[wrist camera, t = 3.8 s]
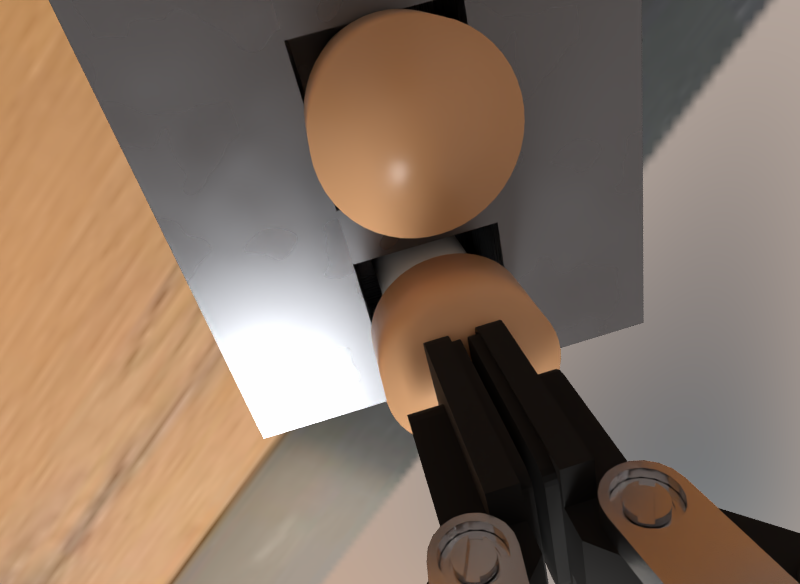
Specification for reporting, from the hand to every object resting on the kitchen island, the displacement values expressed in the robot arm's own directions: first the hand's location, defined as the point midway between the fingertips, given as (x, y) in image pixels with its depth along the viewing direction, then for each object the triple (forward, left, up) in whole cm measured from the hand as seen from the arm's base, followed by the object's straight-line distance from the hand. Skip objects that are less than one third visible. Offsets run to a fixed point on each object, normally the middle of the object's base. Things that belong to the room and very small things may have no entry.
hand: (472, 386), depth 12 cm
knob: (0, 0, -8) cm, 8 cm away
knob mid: (0, -5, -8) cm, 10 cm away
